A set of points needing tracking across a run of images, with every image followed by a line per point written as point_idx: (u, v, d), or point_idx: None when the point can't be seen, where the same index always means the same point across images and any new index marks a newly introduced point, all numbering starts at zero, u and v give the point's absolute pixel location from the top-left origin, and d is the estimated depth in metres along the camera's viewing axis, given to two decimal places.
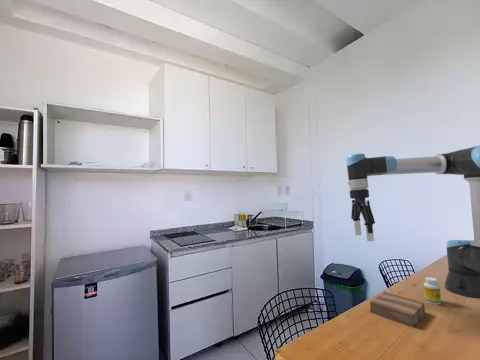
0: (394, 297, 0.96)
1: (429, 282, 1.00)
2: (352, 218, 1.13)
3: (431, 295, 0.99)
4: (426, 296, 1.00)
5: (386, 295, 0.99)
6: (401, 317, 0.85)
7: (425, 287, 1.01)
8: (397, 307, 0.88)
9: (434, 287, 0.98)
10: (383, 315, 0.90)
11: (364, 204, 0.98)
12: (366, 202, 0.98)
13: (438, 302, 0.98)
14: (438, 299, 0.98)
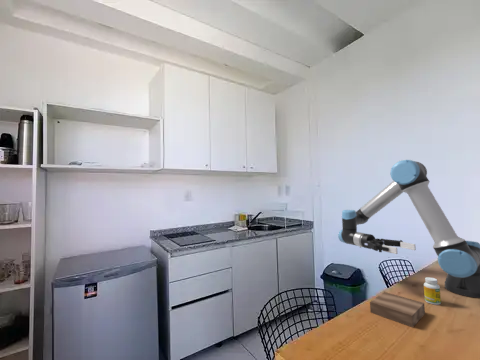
0: (394, 297, 0.96)
1: (429, 282, 1.00)
2: None
3: (431, 295, 0.99)
4: (426, 296, 1.00)
5: (386, 295, 0.99)
6: (401, 317, 0.85)
7: (425, 287, 1.01)
8: (397, 307, 0.88)
9: (434, 287, 0.98)
10: (383, 315, 0.90)
11: (366, 246, 1.20)
12: (365, 243, 1.21)
13: (438, 302, 0.98)
14: (438, 299, 0.98)
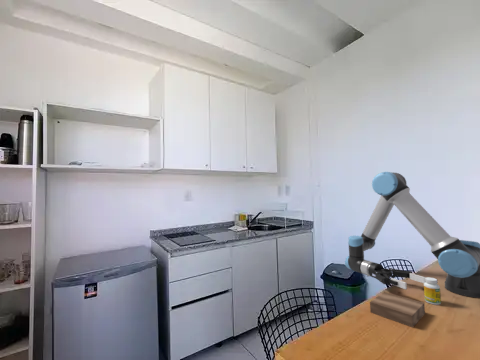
0: (394, 297, 0.96)
1: (429, 282, 1.00)
2: None
3: (431, 295, 0.99)
4: (426, 296, 1.00)
5: (386, 295, 0.99)
6: (401, 317, 0.85)
7: (425, 287, 1.01)
8: (397, 307, 0.88)
9: (434, 287, 0.98)
10: (383, 315, 0.90)
11: (374, 277, 1.17)
12: (373, 274, 1.18)
13: (438, 302, 0.98)
14: (438, 299, 0.98)
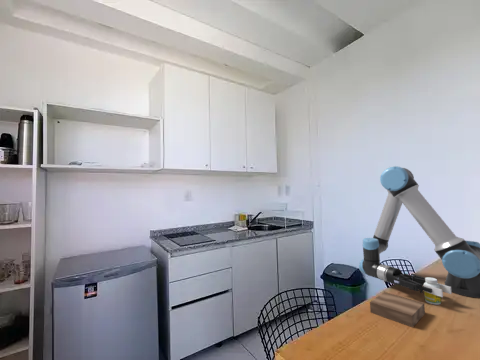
0: (394, 297, 0.96)
1: (429, 282, 1.00)
2: None
3: (431, 295, 0.99)
4: (426, 296, 1.00)
5: (386, 295, 0.99)
6: (401, 317, 0.85)
7: None
8: (397, 307, 0.88)
9: (434, 286, 0.98)
10: (383, 315, 0.90)
11: (398, 284, 1.07)
12: (395, 281, 1.08)
13: (438, 302, 0.98)
14: (438, 299, 0.98)
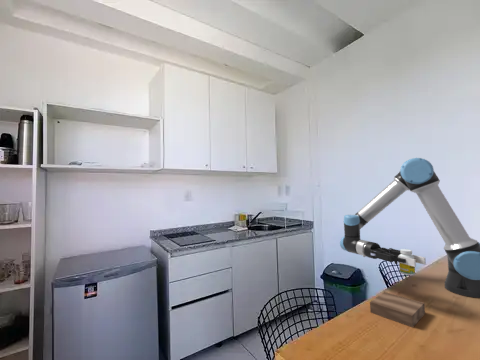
0: (394, 297, 0.96)
1: (404, 253, 0.99)
2: None
3: (405, 266, 0.98)
4: (400, 267, 0.99)
5: (386, 295, 0.99)
6: (401, 317, 0.85)
7: None
8: (397, 307, 0.88)
9: (408, 257, 0.97)
10: (383, 315, 0.90)
11: (374, 256, 1.06)
12: (372, 254, 1.07)
13: (412, 273, 0.97)
14: (412, 270, 0.97)
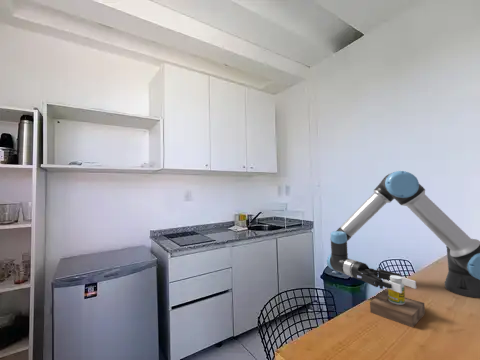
0: None
1: (393, 280, 0.92)
2: None
3: (394, 294, 0.91)
4: (389, 295, 0.93)
5: (386, 295, 0.99)
6: (401, 317, 0.85)
7: None
8: (397, 307, 0.88)
9: None
10: (383, 315, 0.90)
11: (360, 279, 1.00)
12: (358, 276, 1.01)
13: (401, 302, 0.90)
14: (401, 299, 0.90)
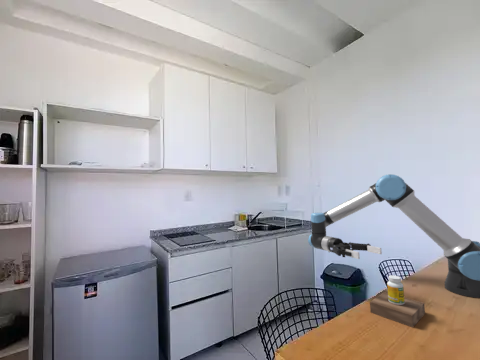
0: None
1: (392, 280, 0.92)
2: None
3: (394, 295, 0.91)
4: (389, 296, 0.93)
5: (386, 295, 0.99)
6: (401, 317, 0.85)
7: (388, 286, 0.93)
8: (397, 307, 0.88)
9: (397, 285, 0.91)
10: (383, 315, 0.90)
11: (332, 250, 1.13)
12: (330, 248, 1.14)
13: (401, 302, 0.90)
14: (401, 299, 0.90)
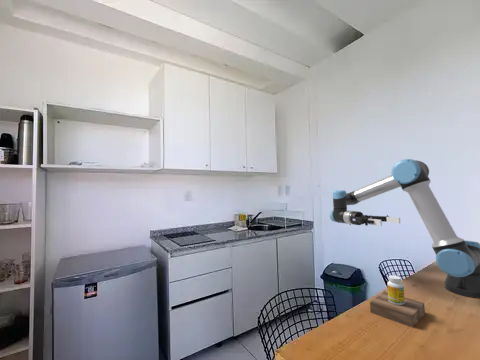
0: None
1: (392, 280, 0.92)
2: None
3: (394, 295, 0.91)
4: (389, 296, 0.93)
5: (386, 295, 0.99)
6: (401, 317, 0.85)
7: (388, 286, 0.93)
8: (397, 307, 0.88)
9: (397, 285, 0.91)
10: (383, 315, 0.90)
11: (354, 221, 1.27)
12: (353, 219, 1.27)
13: (401, 302, 0.90)
14: (401, 299, 0.90)
